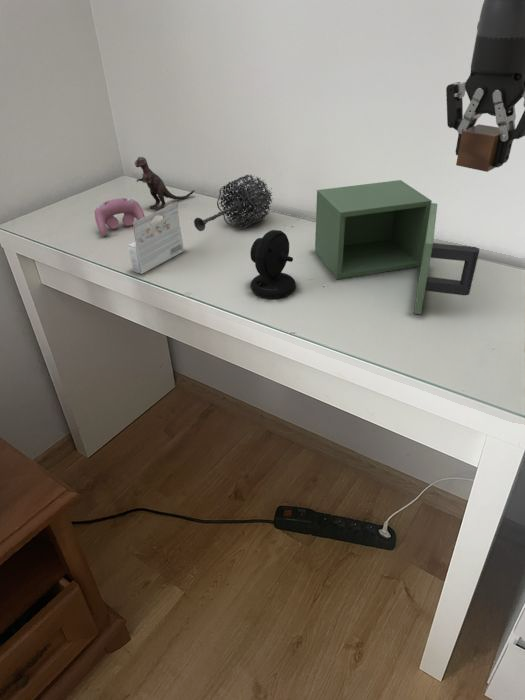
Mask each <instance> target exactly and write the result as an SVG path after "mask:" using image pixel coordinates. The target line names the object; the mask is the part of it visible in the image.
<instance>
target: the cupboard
mask: <svg viewBox="0 0 525 700" xmlns="http://www.w3.org/2000/svg"><path fill="white" fill-rule="evenodd" d="M431 203H433V201H432V199H430V198H429V197H427V196H426V195H424V194H423V193H421V192H419V191H418V190H417V189H415V188H414V187H412V186H410V185H409V184H407V183H406V182H404V181H403V180H401V179H398V180H390V181H381V182H373V183H372V182H371V183H365V184H357V185H356V184H355V185H348V186H340V187H338V186H337V187H331V188H324V189H317V190H316V207H315V208H316V212H315V236H314V237H315V240H314V241H315V242H314V253H315V255H316V256H317V258H318V259H319V260H320V261H321V263H323V264H324V266H325V267H326V268H327V270H328V271H329V272H330V273H331V274H332V276H333V277H334V278H335V279H336V280H341V279H349V278H353V277H361V276H368V275H373V274H379V273H387V272H391V271H392V272H393V271H399V270H405V269H412V268H419V267H421V262H422V255H423V249H424V243H425V237H426V231H427V225H428V219H429V212H430V206H431Z"/></svg>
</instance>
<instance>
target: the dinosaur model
mask: <svg viewBox="0 0 525 700" xmlns="http://www.w3.org/2000/svg"><path fill="white" fill-rule="evenodd" d="M134 166H135V167H136V168H141V170H142V177H141V178H137V179H136V183H138V182H142V183H143V184H144V183H145V184H146V186H147V187H148V189H149V193H150V196H152V199H154V200H155V203H154V204H153V205H149V209H150V210H154V209H155V210H156V211H155V212H157V211H159V210H161V209H163V208H165V207H166V205H167V203H166V201H165V198H166V199H168V198H169V199H172V200H174V201H176V200H185V199H187V198H189V197H190V196H191V195H193V194H194V192H195V190H192V191H191V192H189V193H187V194H186V195H182V196H179V195H174V194H173V193H172V192H171V191H170V190H168V188H167V187H166V184H165V183H164V182H165V181H164V180H163V179H162V178H161V177H160V176H159V175H158V174H157V173H155V172H154V171H153V170H152V169H151V168H150V167H149V164H148V161H147V159H146V157H144V156H138V157H137V158H136V160H134ZM159 205H160V206H159Z"/></svg>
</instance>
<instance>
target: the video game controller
mask: <svg viewBox="0 0 525 700" xmlns="http://www.w3.org/2000/svg"><path fill="white" fill-rule="evenodd" d="M143 210H144V209H142V206H141V204H140V203H139V202H138V201H136V200H135V199H133V198H123V197H121V198H120V197H119V198H114V199H110V200H107V201H105V202H103V203H100V204H99V205H98V206H97V207H96V208H95V210H94V219H95V223H96V226H97V228H98V232H99V233H100V234H101V235H102V237H106V236H107V234H108V233H107V227H108V228H109V229H111V230H115V229H117V228H119V225H120V221H119V219H118V218H117V217H115V216H116V215H120V214H123V215H122V220H121V221H122V224H123V225H125V226H126V227H131V226H133V222H135V219H136V220H139V219H141V218H143V217H146V215H145V213H144V211H143Z"/></svg>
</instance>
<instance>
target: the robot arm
mask: <svg viewBox="0 0 525 700" xmlns="http://www.w3.org/2000/svg"><path fill="white" fill-rule="evenodd" d="M445 90H446V91H445V94H446V122H447V124H446V125H447V127H448V128H450V129H454V130H455V131H457V135H458V136H457V140H456V145H455V156H458V152H459V146H460V141H461V136H462V131H463V130H466V129H468V128H471V127H473V126H476V123H477V121H478V120H479V119H480V117H481V116H482V115H484V114H488V115H490V116H492V117H495V123H496V125H497V127H499V135H500V141H498V144H497V149H496V153H495V158H494V162H493V167H496V168H500V167H502V166H503V165H504V164H505V163H507V162H508V160H509V158H510V155H511V151H512V146H513V142H514V140H519V139H521V138H524V137H525V109H524V110H523V113H522V115H521V117H520V118H519V121H518V123H517V125H516V118H517V116H516V115H517V114H516V105H517V104H518V102H519V101H520V100H521V99H522V98H523V107H524V108H525V0H483V3H482V6H481V11H480V14H479V19H478V22H477V25H476V36H475V41H474V46H473V53H472V58H471V62H470V73H469V76H468V78H467V79H466V81H464V82H460V81H456V82H453V83H449V84H448V85H447V86H446V88H445ZM465 95H467V97H468V100H469V104H468V106H467V108H466V109H465V112H464V111H463V110H464V109H463V107H464V106H463V99H464V97H465Z"/></svg>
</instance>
